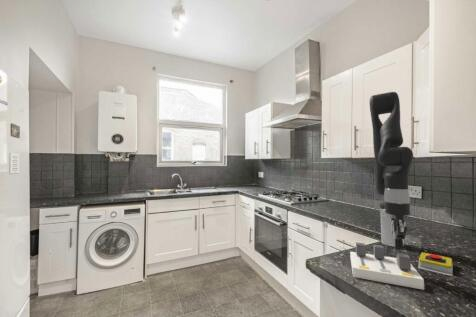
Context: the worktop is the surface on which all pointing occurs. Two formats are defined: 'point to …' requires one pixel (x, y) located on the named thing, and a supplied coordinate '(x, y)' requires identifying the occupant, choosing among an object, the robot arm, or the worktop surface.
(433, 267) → the emergency button
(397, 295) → the worktop surface
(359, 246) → the switch
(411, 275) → the switch panel
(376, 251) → the switch
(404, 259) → the switch
